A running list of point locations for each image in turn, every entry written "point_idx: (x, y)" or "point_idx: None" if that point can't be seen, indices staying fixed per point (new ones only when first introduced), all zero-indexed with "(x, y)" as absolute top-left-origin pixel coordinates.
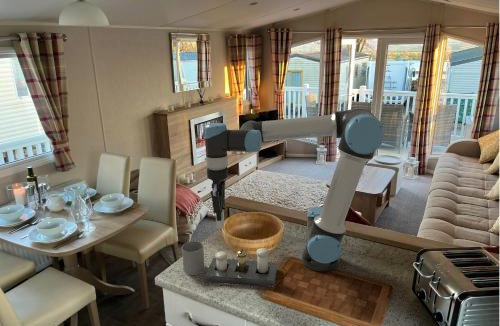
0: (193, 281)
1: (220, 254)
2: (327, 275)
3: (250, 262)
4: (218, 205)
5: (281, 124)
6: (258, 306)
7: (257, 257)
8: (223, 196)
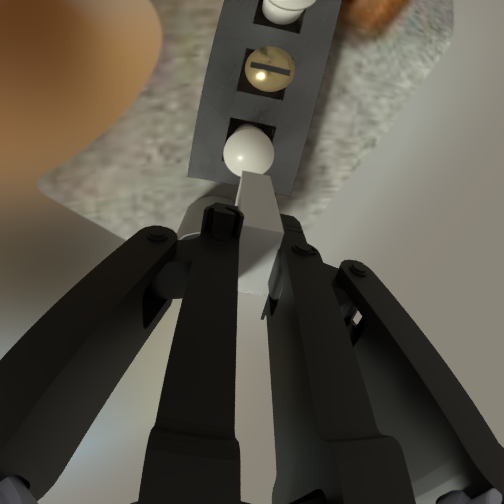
0: None
1: (247, 157)
2: None
3: (225, 44)
4: (420, 346)
5: None
6: (409, 57)
7: (292, 11)
8: (113, 317)
